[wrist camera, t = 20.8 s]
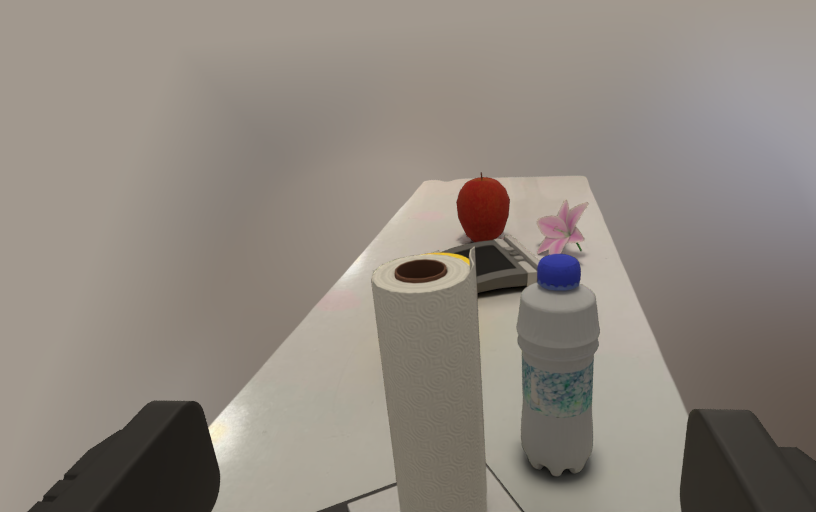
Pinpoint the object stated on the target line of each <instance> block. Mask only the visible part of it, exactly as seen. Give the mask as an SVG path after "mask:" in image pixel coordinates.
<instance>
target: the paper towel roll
mask: <svg viewBox="0 0 816 512" xmlns="http://www.w3.org/2000/svg"><path fill="white" fill-rule="evenodd" d="M469 262H470V266H469V265H468V264H467V263H466V262H464V261H463V260H461V259H459V258H455V257H451V256H448V255H436V254H425V255H412V256H408V257H403V258H398V259H395V260H392V261H390V262H387V263H385V264H383V265H381V266H380V267H379V268H377V269H376V270H375V271H374V272H373V275H372V279H371V283H372V291H373V299H374V307H375V314H376V322H377V330H378V338H379V346H380V354H381V362H382V370H383V378H384V386H385V394H386V402H387V410H388V417H389V425H390V433H391V441H392V449H393V457H394V465H395V473H396V481H397V489H398V497H399V505H400V512H487V498H486V494H487V478H486V459H485V439H484V419H483V400H482V380H481V361H480V341H479V321H478V302H477V282H476V262H475V247H473V248H472V249H471V250H470V254H469Z"/></svg>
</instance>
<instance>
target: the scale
mask: <svg viewBox="0 0 816 512" xmlns="http://www.w3.org/2000/svg"><path fill="white" fill-rule="evenodd" d="M486 478H487V494H486V498H487V512H524V511H523V510H522V508H521V507H520V506H519V505H518V503H517V502H516V501H515V500H514V498H513V497H512V496H511V494H510V493H509V492H508V491H507V489H506V488H505V487H504V485H503V484H502V483H501V482H500V480H499V479H498V478H497V476H496V475H495V474H494V473H493V471H492V470H491V469H490V468H489V466H488V465H487V464H486ZM317 512H400V505H399V497H398V489H397V482H396V483H393V484H391V485H388V486H385V487H382V488H380V489H377V490H374V491H372V492H369V493H366V494H363V495H361V496H358V497H355V498H353V499H350V500H347V501H344V502H342V503H339V504H336V505H334V506H331V507H328V508H325V509H323V510H320V511H317Z"/></svg>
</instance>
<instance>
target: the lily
mask: <svg viewBox="0 0 816 512" xmlns="http://www.w3.org/2000/svg"><path fill="white" fill-rule="evenodd" d="M588 204H589V203H588V202H585V203H582V204H580V205H577V206H575V207H574V208H572V209H571V210H569V206H568V202H567V200H565V201H564V202H563V204H562V205H561V207H560V210H559V212H558V215H557V216H545V217H542V218H539V219H538V220H537V225H538V228H539V229H540V231H541V233H542V234H543V235H544V236H546V237H545V239H544V240H543V241H542V243H541V244H540V246H539V248H538V250H537V254H539V253H541V252H543V251H546V250H548V249H549V255H551V254H561V252H562V250H563V248H564V246H565V244H566V243H576V244H577V245H578V247H579V249H580V251H582V249H581V248H580V246H579V244H578V242H583V241H584V237H583V236H582V234H581V232H580V231H579V230H578V228H577V227H575V226H576V224H577V222H578V220H579V219H580V217H581V215H582V214H583V212H584V211H585V209H586V208H587V206H588Z"/></svg>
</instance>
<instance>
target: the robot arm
mask: <svg viewBox="0 0 816 512" xmlns="http://www.w3.org/2000/svg"><path fill="white" fill-rule="evenodd" d="M219 487H220V471H219V466H218V463H217V459H216V455H215V452H214V448H213V444H212V441H211V437H210V433H209V429H208V426H207V422H206V418H205V415H204V411H203V409H202V407H201V405H200V404H199V403H197V402H195V401H152V402H150V403H148V404H147V405H146V406H144V407H143V408H142V409H141V411H140V412H139V413H138V414H137V415H136V416H135V417H134V418H133V419H132V420H131V421H130V422H129V423H128V424H127V425H126V426H125V427H124V428H123V429H122V430H119V431H117V432H116V433H114V434H113V435H111V436H110V437H108V438H107V439H105V440H104V441H102V442H101V443H99V444H97V445H96V446H95V447H93V448H91V449H90V450H88V451H87V452H86V453H85V454H84V455H83V456H82V458H80V460H79V461H77V462H76V464H75V465H74V466H73V467H72V468H71V469H70V470H69V471H68V472H67V473H66V474H65V475H64V479H63V480H59V481H58V482H57V483H56V484H55V485H54V486H53V487H52V488H51V489H50V490H49V491H48V492H47V493H46V494H45V495H44V496H43V497H44V498H43V500H42V502H39V501H38V502H37V503H36V504H35V505H34V506H33V507H32V508H31V509H30V510H29V511H28V512H211V511H212V509H213V507H214V505H215V503H216V500H217V497H218V493H219ZM680 503H681V511H682V512H816V461H815V460H813V459H812V458H811V457H809V456H808V455H806V454H805V453H804V452H802V451H801V450H800V449H798V448H797V447H778V446H777V445H776V443H775V442H774V441H773V439H772V438H771V436H770V435H769V434H768V432H767V431H766V429H765V428H764V427H763V425H762V424H761V422H760V421H759V420H758V418H757V417H756V416H755V415H754V414H753V413H752V412H751V411H749V410H712V409H694V410H692V411H691V412H690V414H689V417H688V423H687V431H686V440H685V449H684V458H683V466H682V475H681V484H680Z"/></svg>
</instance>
